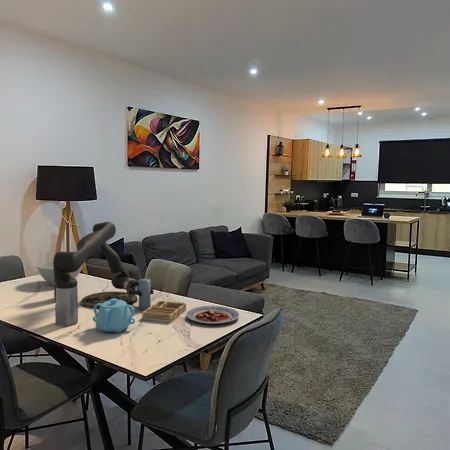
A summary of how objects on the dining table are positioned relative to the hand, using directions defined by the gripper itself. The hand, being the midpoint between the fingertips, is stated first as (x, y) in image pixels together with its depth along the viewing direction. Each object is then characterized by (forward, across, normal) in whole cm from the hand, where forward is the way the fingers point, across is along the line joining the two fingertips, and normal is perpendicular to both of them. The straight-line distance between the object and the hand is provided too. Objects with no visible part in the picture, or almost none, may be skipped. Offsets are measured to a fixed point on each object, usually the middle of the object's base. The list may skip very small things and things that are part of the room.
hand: (146, 293), depth 210 cm
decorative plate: (-25, -10, +9) cm, 28 cm away
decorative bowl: (-78, -21, +9) cm, 82 cm away
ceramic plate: (+29, +21, +9) cm, 37 cm away
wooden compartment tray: (+12, +4, +8) cm, 15 cm away
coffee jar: (-42, -30, +9) cm, 53 cm away
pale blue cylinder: (-2, 0, +8) cm, 9 cm away
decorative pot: (+17, -24, +9) cm, 31 cm away
